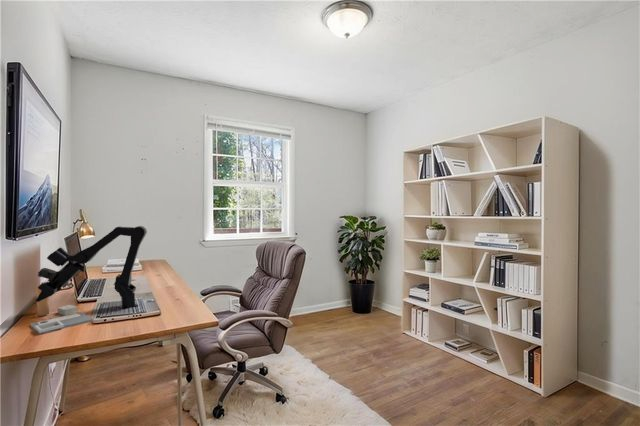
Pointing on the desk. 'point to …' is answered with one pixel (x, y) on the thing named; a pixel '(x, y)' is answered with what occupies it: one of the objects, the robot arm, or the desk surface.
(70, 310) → the cover
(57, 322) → the board
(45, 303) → the pin
